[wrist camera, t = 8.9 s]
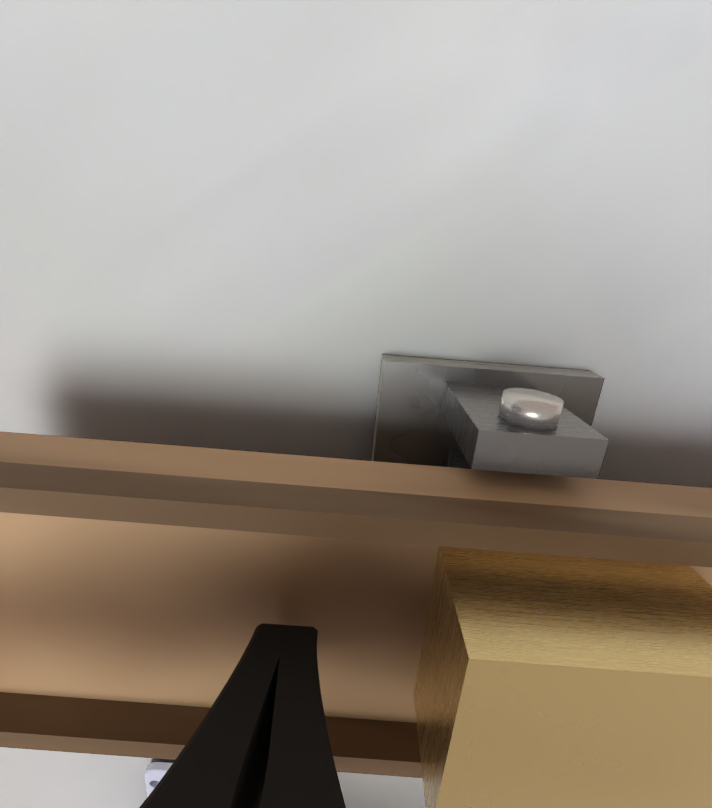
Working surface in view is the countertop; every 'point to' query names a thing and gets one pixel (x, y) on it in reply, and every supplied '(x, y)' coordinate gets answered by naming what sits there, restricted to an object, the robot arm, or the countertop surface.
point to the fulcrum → (488, 417)
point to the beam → (264, 579)
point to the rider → (565, 683)
